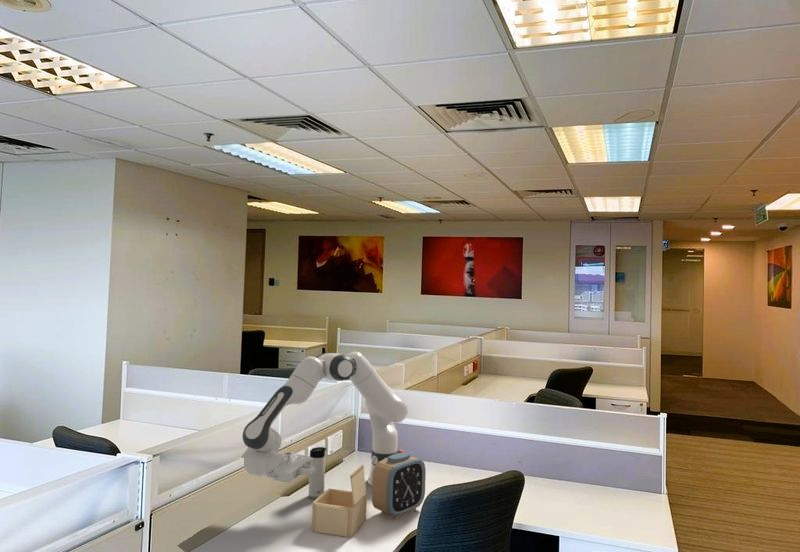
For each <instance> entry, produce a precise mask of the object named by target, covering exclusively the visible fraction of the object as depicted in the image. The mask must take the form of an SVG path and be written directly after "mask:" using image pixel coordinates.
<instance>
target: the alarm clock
mask: <svg viewBox="0 0 800 552" xmlns="http://www.w3.org/2000/svg"><path fill="white" fill-rule="evenodd" d="M426 474H427V473H426V465H425V462H424V461H423V460H421V459H420V458H416V457H414V456H413V457H412V456H411V453H408V452H405V451H404V452H402V453H397V454H394V455H391V456H389V457H388V458H386V459H383V460H381V461H380V462H378V463H377V464H376V466H375V468H374V470H373V475H372V485H371V502H372V506H373V507H374V509H377V510H378V511H381V514H383V515H385V516H387V515H388V516H387V517H389V516H390V517H389V518H392V519H394V518H395V519H394V520H396V518H397V519H400V518H402V517H404V516H406V515H409V514H411V513H413V512H416V511H417V508H418V507H420V506H421V505H422V503H423V501H424V498H425V494H426ZM401 516H402V517H401ZM399 517H400V518H399Z"/></svg>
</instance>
